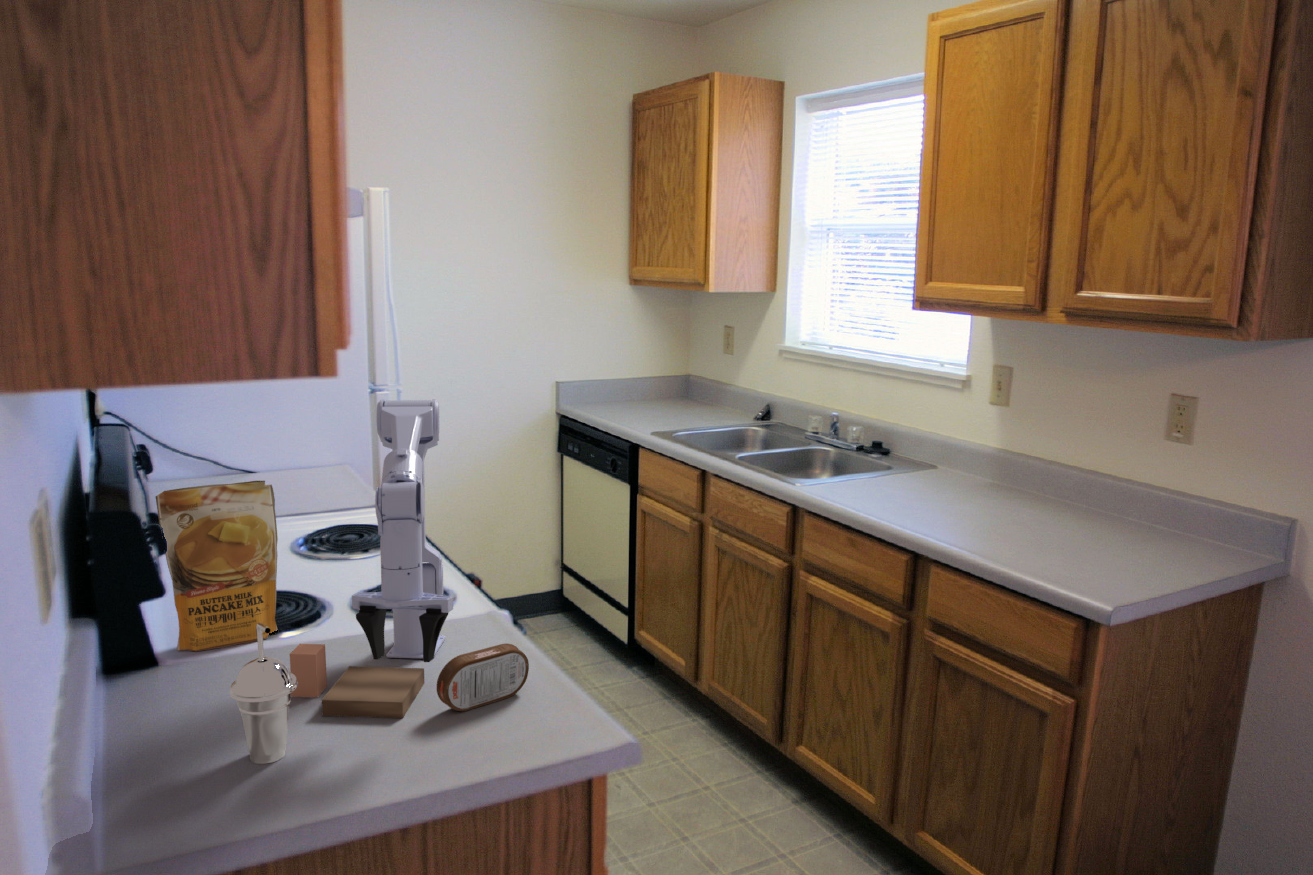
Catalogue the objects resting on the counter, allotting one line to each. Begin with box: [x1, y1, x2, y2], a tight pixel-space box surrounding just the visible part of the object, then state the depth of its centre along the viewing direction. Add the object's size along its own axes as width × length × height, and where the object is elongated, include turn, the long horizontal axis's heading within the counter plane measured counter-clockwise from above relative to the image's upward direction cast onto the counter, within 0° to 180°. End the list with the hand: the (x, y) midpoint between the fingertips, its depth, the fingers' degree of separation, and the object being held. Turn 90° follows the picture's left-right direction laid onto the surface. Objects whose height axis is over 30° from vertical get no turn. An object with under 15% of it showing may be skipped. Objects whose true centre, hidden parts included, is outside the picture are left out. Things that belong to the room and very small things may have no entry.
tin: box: [436, 642, 530, 712], centre depth 145 cm, size 15×3×8 cm, turn 130°
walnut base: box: [321, 665, 425, 719], centre depth 146 cm, size 12×12×2 cm
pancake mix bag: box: [154, 480, 279, 652], centre depth 165 cm, size 7×19×28 cm, turn 122°
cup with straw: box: [229, 622, 298, 765], centre depth 127 cm, size 8×9×20 cm
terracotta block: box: [289, 643, 328, 698], centre depth 148 cm, size 4×4×7 cm
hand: (403, 658), depth 137 cm, fingers open, 7 cm apart
